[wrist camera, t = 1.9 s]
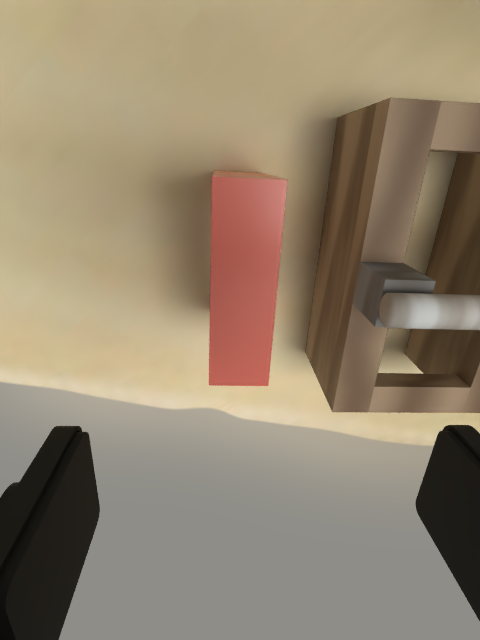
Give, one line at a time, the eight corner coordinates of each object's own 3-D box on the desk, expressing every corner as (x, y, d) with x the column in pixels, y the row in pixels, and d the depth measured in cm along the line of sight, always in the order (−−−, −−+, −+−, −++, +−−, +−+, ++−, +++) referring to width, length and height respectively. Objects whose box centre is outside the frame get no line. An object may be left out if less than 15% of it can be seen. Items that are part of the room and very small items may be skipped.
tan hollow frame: (499, 127, 30) (758, 95, 16) (431, 354, 39) (557, 468, 25) (337, 117, 29) (453, 74, 15) (305, 352, 38) (358, 469, 24)
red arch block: (261, 172, 31) (287, 180, 19) (252, 312, 36) (268, 385, 24) (214, 170, 31) (211, 176, 19) (212, 311, 36) (208, 385, 24)
